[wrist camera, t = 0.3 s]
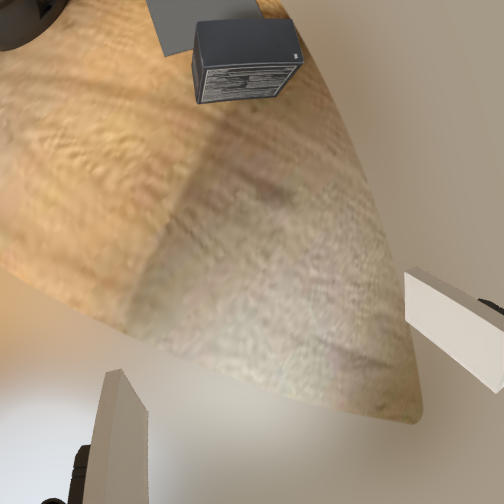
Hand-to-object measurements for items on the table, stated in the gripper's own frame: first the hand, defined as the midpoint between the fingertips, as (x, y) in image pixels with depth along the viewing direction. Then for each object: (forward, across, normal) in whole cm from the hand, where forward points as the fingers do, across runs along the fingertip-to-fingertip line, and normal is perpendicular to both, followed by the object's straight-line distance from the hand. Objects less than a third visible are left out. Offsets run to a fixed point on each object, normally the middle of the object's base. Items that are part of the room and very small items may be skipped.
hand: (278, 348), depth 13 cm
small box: (+30, +8, +16) cm, 36 cm away
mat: (+33, +7, +32) cm, 46 cm away
